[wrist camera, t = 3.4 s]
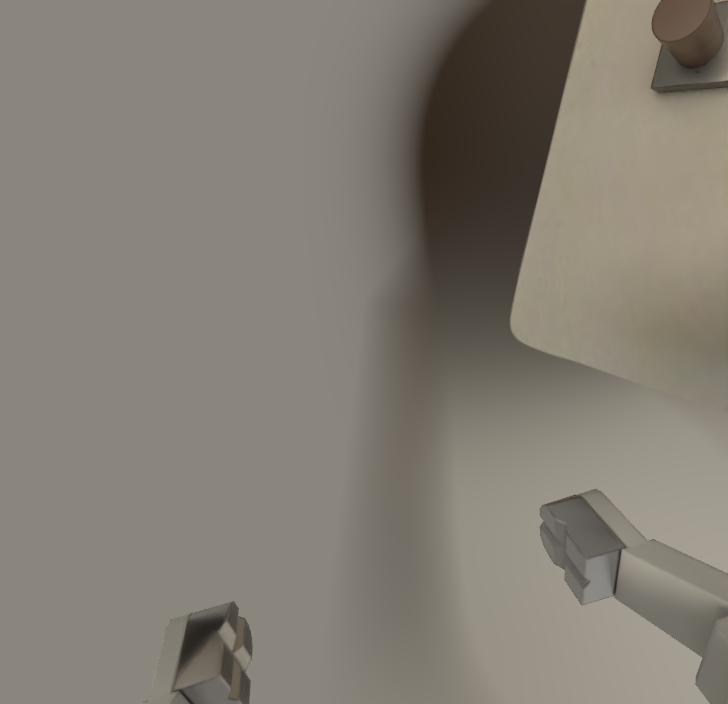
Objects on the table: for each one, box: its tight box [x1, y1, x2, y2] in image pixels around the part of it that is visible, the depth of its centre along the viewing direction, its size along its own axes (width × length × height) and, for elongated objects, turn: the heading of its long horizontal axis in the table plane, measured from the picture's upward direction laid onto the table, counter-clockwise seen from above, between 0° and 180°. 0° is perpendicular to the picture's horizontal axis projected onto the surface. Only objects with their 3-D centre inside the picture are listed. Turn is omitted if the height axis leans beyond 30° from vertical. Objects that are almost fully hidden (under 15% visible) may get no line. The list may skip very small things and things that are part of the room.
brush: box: [651, 0, 728, 93], centre depth 28 cm, size 5×5×13 cm
